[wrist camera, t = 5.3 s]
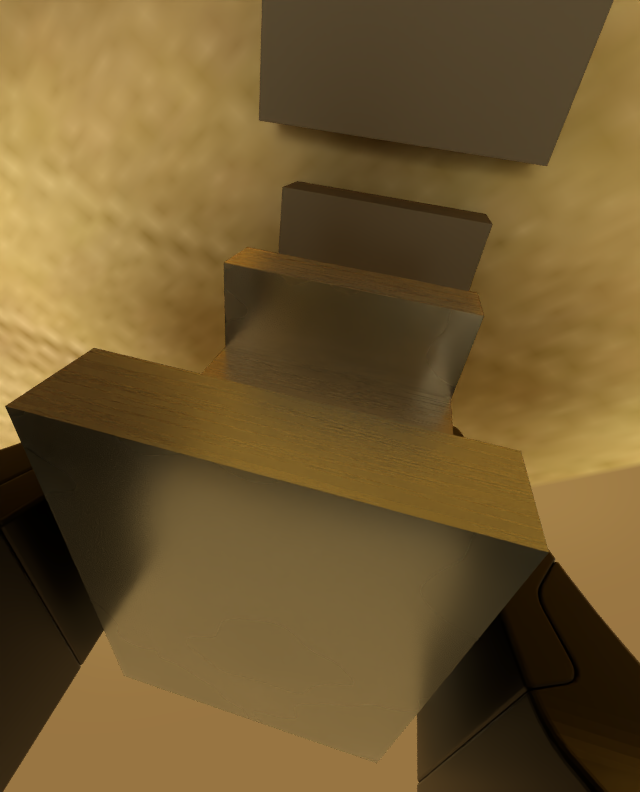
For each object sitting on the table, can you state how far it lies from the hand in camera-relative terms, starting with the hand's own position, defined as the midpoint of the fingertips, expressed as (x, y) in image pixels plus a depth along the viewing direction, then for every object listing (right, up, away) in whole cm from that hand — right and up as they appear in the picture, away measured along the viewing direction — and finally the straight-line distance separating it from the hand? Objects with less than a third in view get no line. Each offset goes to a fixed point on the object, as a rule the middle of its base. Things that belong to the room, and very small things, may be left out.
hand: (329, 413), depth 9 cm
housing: (0, 0, 0) cm, 1 cm away
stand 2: (+1, +3, +5) cm, 7 cm away
